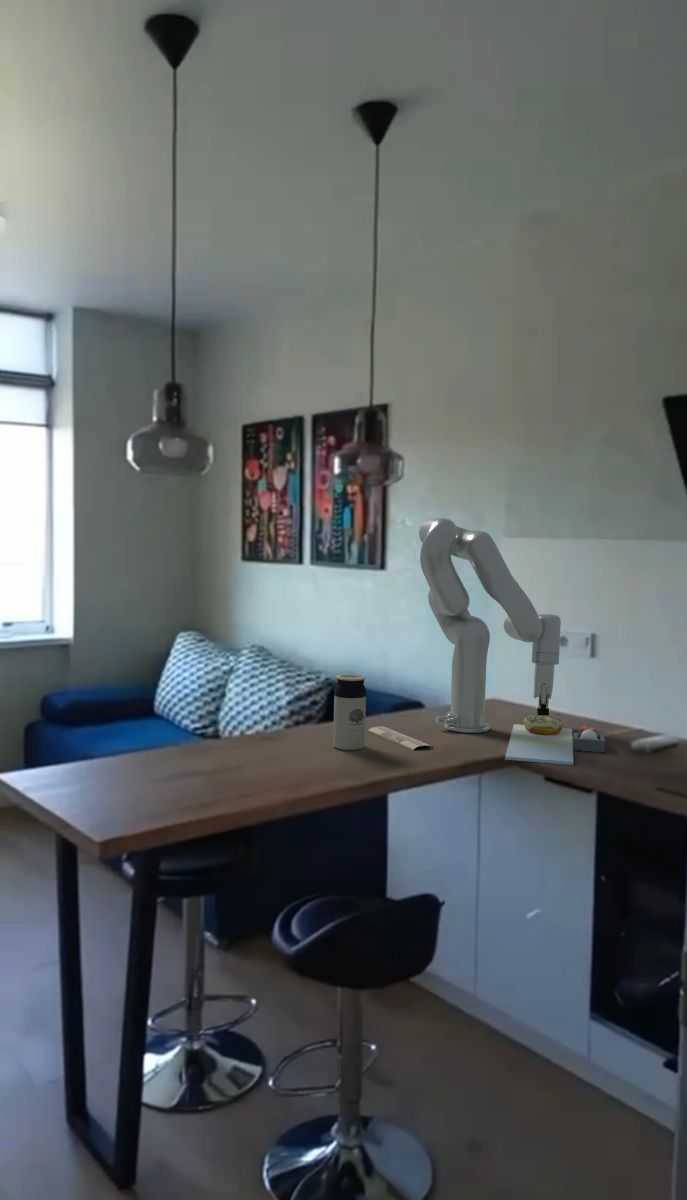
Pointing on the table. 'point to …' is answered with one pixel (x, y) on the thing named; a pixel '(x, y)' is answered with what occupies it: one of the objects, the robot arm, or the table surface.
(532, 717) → the decorated donut
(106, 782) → the table surface
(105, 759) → the table surface
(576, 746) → the dome collar
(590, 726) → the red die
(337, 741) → the travel mug
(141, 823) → the table surface
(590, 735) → the dome button
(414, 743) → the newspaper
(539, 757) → the white flat board
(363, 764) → the table surface
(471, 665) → the robot arm
